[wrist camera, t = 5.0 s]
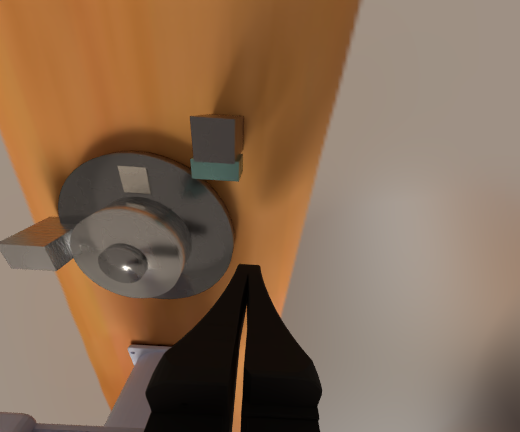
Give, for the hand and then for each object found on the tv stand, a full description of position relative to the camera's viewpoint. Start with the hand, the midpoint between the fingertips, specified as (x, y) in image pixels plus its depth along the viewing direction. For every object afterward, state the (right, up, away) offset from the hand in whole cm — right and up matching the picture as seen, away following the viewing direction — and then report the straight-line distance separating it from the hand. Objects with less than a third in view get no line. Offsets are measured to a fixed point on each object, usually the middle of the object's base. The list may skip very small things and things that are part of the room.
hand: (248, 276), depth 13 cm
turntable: (-8, +3, +4) cm, 9 cm away
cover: (-8, +2, +3) cm, 9 cm away
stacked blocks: (-1, +9, 0) cm, 9 cm away
